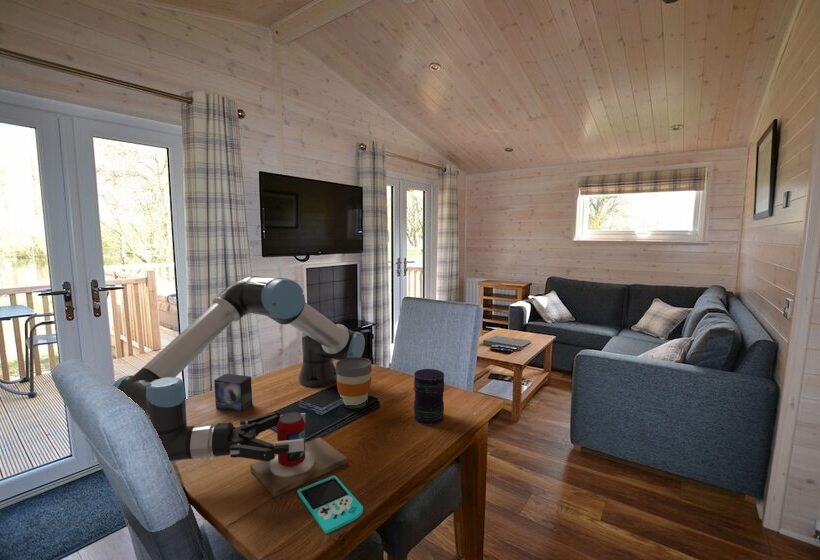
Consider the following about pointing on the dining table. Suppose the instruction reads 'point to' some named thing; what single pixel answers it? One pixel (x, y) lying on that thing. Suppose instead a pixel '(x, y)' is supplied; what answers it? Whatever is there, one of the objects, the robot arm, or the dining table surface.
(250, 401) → the small box
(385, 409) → the dining table surface
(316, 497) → the handheld game console
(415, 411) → the dark blue cylinder
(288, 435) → the beverage can
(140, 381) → the robot arm
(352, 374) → the reusable coffee cup
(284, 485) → the drinks board
